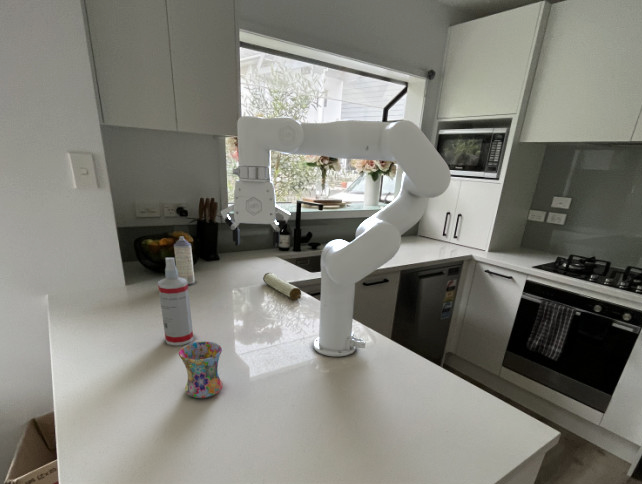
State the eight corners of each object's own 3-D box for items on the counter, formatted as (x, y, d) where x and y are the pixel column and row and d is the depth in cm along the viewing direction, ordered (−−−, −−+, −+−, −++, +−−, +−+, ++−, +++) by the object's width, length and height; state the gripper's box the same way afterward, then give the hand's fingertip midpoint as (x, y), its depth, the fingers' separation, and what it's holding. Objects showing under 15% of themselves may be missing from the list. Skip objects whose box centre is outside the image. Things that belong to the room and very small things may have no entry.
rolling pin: (259, 282, 170) (259, 271, 168) (271, 280, 172) (270, 269, 170) (293, 304, 145) (293, 291, 143) (306, 302, 148) (306, 289, 146)
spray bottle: (164, 346, 109) (152, 261, 99) (167, 335, 115) (156, 255, 106) (193, 344, 111) (184, 260, 101) (193, 333, 117) (185, 254, 108)
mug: (229, 395, 87) (226, 355, 83) (187, 405, 83) (182, 363, 79) (216, 371, 97) (213, 334, 93) (178, 379, 93) (173, 341, 89)
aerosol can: (197, 281, 167) (192, 235, 160) (190, 285, 161) (186, 238, 153) (182, 280, 168) (177, 234, 160) (175, 284, 162) (169, 237, 154)
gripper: (215, 173, 87) (219, 247, 94) (289, 176, 88) (289, 249, 94) (222, 172, 94) (225, 241, 101) (291, 175, 95) (290, 243, 101)
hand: (256, 245), depth 97 cm, fingers open, 9 cm apart
